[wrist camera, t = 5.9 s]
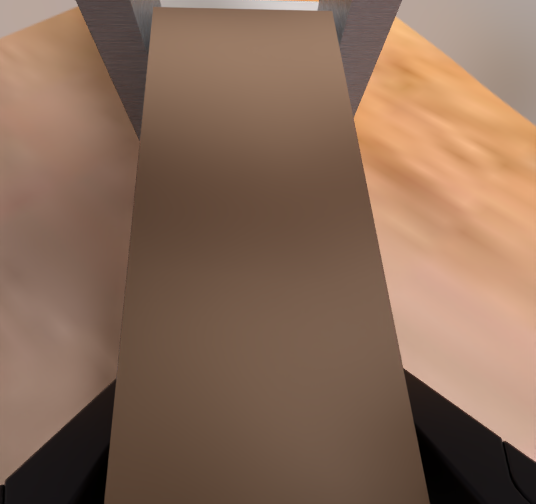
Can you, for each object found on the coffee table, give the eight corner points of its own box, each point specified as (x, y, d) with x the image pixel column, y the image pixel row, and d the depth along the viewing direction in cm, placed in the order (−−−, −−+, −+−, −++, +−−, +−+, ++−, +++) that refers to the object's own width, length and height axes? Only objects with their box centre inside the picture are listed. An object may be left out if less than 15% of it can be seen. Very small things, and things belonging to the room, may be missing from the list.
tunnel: (339, 152, 16) (483, -200, 6) (145, 154, 15) (-35, -242, 5) (329, 91, 17) (433, -272, 8) (151, 90, 17) (16, -313, 7)
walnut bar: (313, 442, 11) (443, 573, 4) (198, 451, 11) (93, 615, 3) (289, 194, 15) (332, 10, 7) (201, 196, 14) (153, 6, 7)
